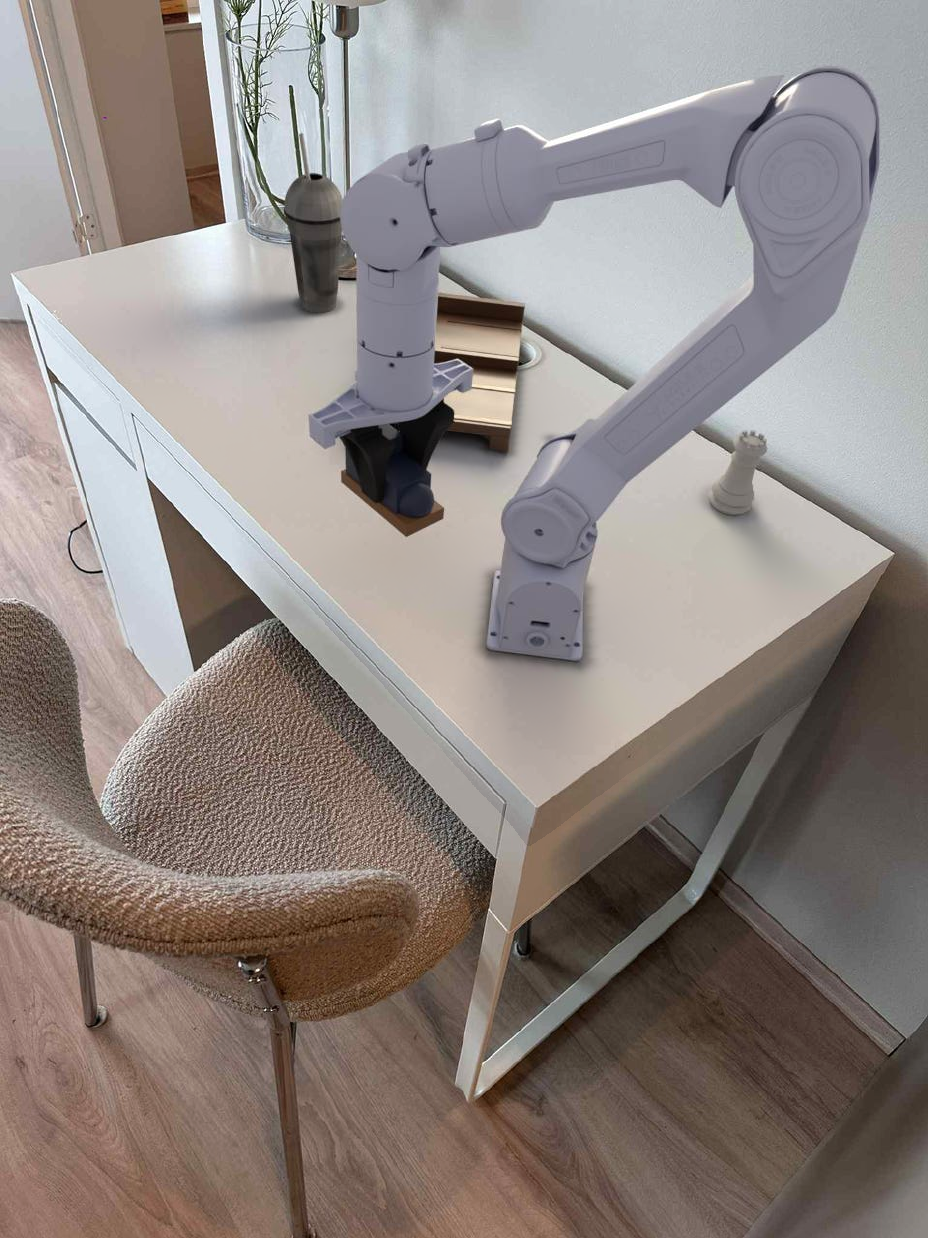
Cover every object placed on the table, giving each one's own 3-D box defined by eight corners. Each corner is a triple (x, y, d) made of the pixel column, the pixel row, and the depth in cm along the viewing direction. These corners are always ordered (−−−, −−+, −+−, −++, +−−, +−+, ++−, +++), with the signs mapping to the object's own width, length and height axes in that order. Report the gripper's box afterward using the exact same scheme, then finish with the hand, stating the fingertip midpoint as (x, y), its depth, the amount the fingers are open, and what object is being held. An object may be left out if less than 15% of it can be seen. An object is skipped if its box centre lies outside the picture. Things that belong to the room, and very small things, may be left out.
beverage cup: (354, 314, 111) (352, 143, 97) (297, 320, 109) (287, 146, 95) (338, 288, 116) (334, 120, 102) (283, 293, 114) (271, 123, 99)
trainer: (444, 519, 74) (448, 466, 70) (407, 538, 72) (409, 484, 68) (378, 466, 78) (378, 413, 75) (341, 482, 76) (339, 429, 73)
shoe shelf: (507, 452, 93) (513, 411, 90) (357, 433, 94) (357, 392, 90) (520, 340, 110) (525, 302, 107) (392, 325, 110) (393, 286, 107)
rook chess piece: (698, 493, 91) (721, 427, 85) (735, 486, 92) (759, 421, 87) (722, 520, 88) (746, 454, 83) (759, 513, 90) (786, 447, 84)
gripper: (436, 291, 70) (428, 435, 80) (280, 341, 63) (292, 493, 73) (497, 328, 67) (480, 474, 76) (339, 386, 59) (343, 539, 69)
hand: (392, 486), depth 74 cm, fingers closed on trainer, 3 cm apart
